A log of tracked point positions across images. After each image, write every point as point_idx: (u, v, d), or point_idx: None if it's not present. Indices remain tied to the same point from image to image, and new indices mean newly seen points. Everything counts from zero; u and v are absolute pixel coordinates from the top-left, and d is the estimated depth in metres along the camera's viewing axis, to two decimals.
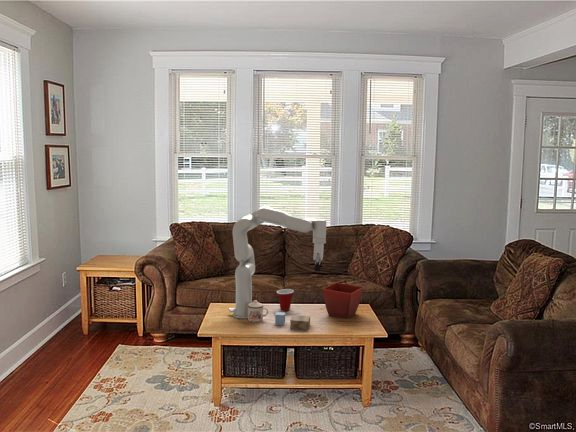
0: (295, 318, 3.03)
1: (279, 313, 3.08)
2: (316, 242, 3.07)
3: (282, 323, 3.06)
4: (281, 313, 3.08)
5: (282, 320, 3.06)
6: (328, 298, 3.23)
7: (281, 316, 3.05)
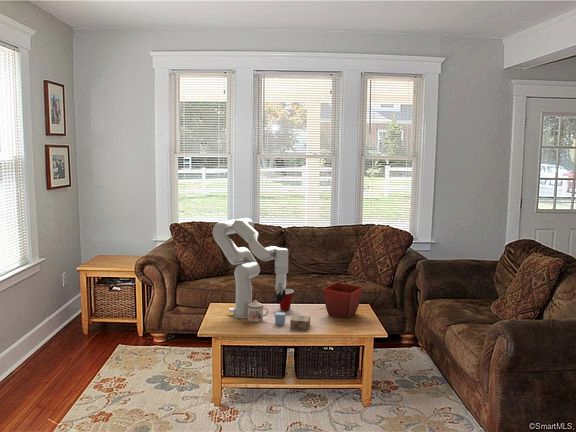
0: (295, 318, 3.03)
1: (279, 313, 3.08)
2: (278, 272, 3.02)
3: (282, 323, 3.06)
4: (281, 313, 3.08)
5: (282, 320, 3.06)
6: (328, 298, 3.23)
7: (281, 316, 3.05)
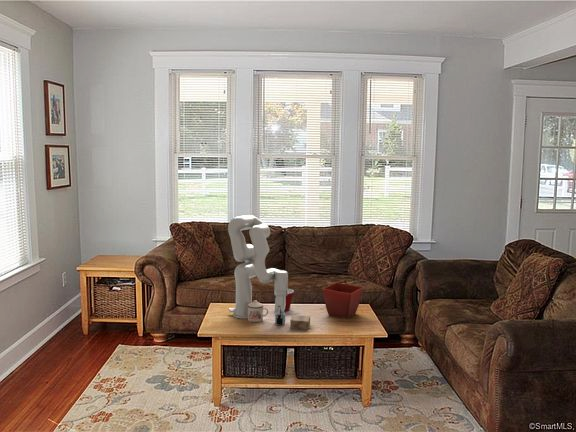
0: (295, 318, 3.03)
1: None
2: (277, 294, 3.03)
3: (282, 323, 3.06)
4: None
5: (282, 320, 3.06)
6: (328, 298, 3.23)
7: None
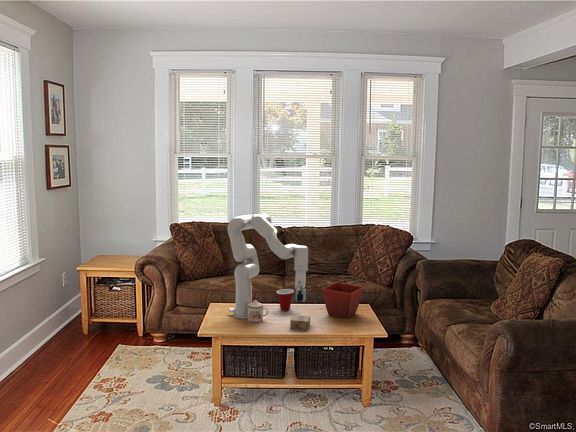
0: (295, 318, 3.03)
1: None
2: (297, 270, 2.97)
3: (303, 299, 2.99)
4: None
5: (303, 296, 2.99)
6: (328, 298, 3.23)
7: None
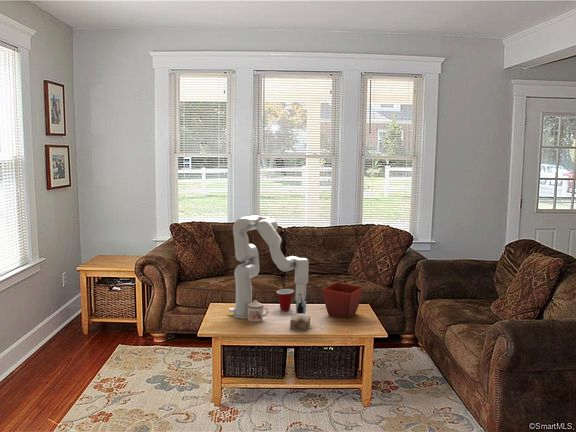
0: (295, 318, 3.03)
1: None
2: (298, 282, 2.98)
3: (303, 311, 3.00)
4: None
5: (303, 308, 3.00)
6: (328, 298, 3.23)
7: None
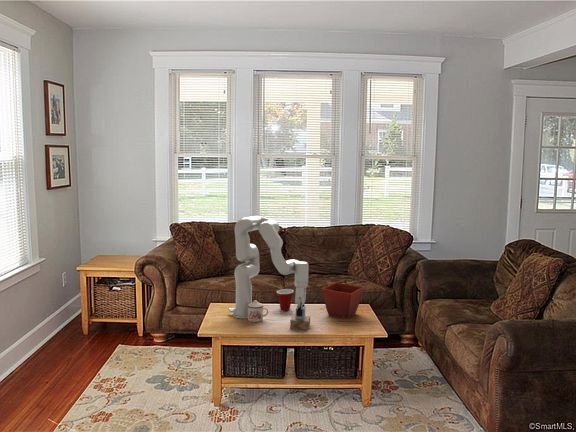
0: None
1: None
2: (298, 286, 2.98)
3: (302, 317, 3.01)
4: None
5: (302, 314, 3.00)
6: (328, 298, 3.23)
7: None
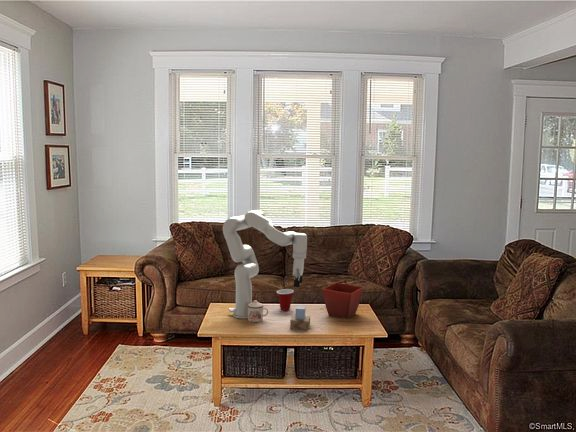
0: None
1: (299, 307, 3.03)
2: (296, 257, 2.99)
3: (302, 317, 3.01)
4: (301, 307, 3.03)
5: (302, 314, 3.00)
6: (328, 298, 3.23)
7: (301, 310, 3.00)
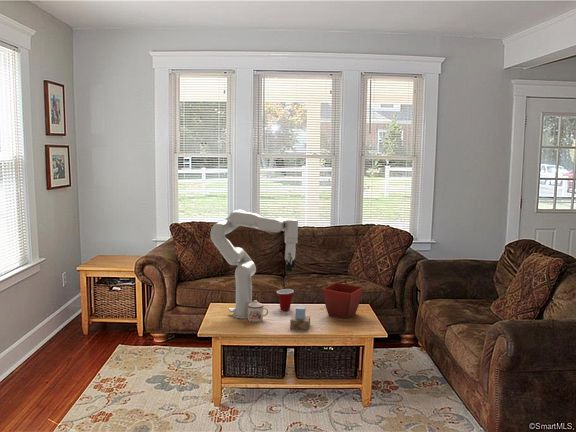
0: None
1: (299, 307, 3.03)
2: (287, 242, 3.07)
3: (302, 317, 3.01)
4: (301, 307, 3.03)
5: (302, 314, 3.00)
6: (328, 298, 3.23)
7: (301, 310, 3.00)
